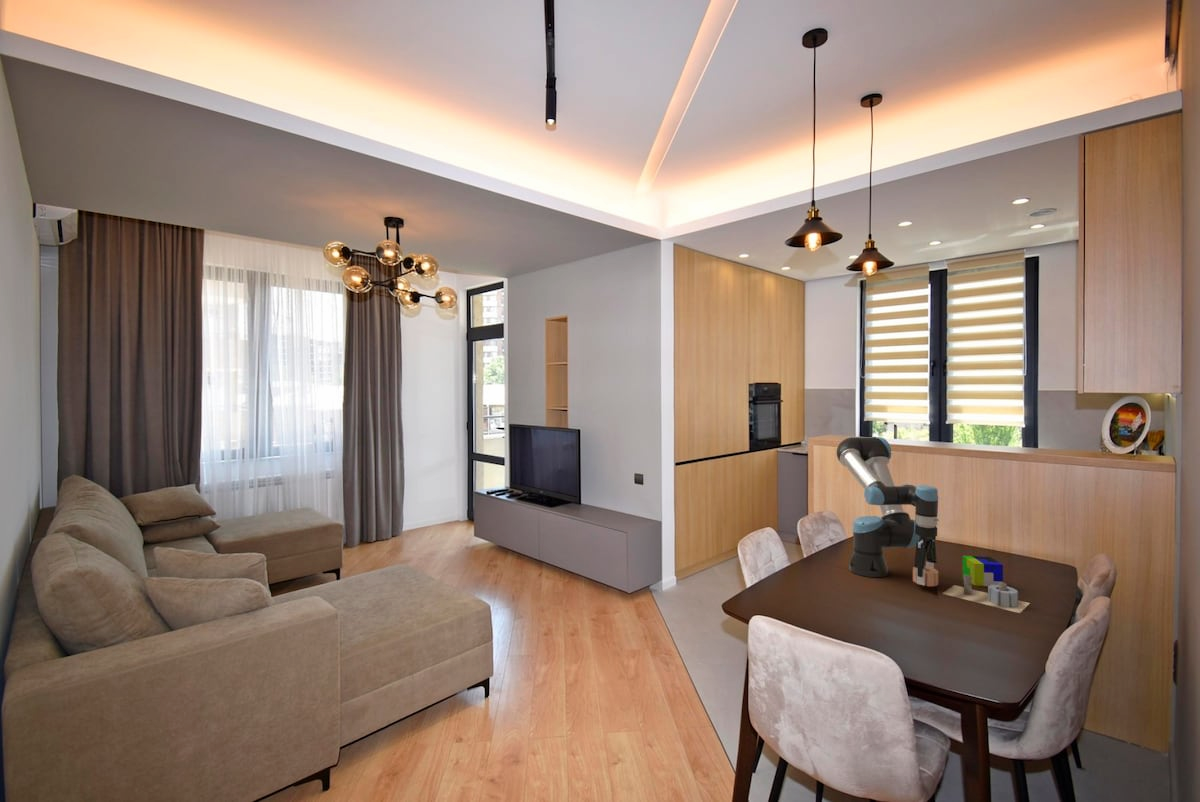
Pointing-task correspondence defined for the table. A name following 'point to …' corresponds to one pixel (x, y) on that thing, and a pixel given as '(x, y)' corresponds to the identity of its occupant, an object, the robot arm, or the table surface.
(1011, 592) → the gear
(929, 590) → the table surface
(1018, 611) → the gear board
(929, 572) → the loose gear
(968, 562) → the puzzle toy
